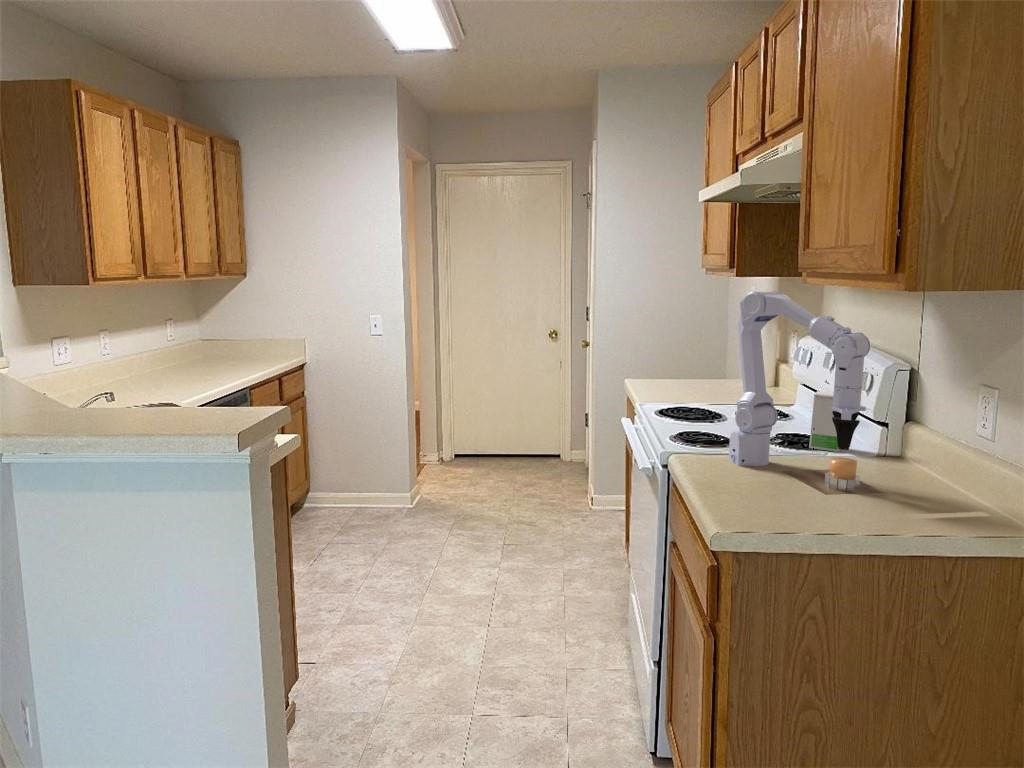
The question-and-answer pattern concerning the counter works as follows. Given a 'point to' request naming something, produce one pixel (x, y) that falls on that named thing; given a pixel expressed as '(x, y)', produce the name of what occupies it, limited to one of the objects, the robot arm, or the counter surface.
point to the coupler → (842, 468)
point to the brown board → (818, 480)
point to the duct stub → (842, 483)
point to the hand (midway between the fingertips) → (843, 445)
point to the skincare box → (823, 423)
